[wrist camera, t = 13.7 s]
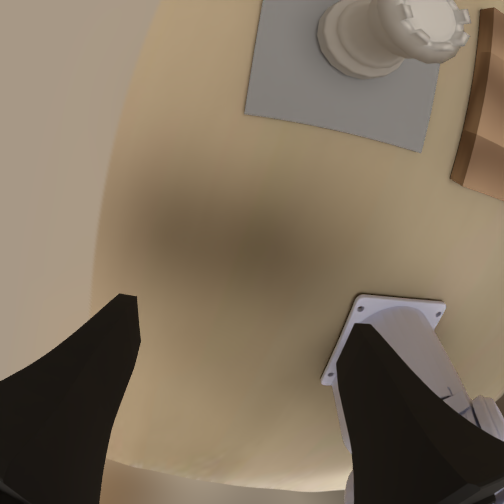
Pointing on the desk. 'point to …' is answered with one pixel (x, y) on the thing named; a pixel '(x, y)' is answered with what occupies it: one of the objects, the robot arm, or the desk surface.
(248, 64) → the desk surface
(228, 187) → the desk surface
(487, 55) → the pocket holder
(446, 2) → the rook chess piece
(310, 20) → the rubber pad
